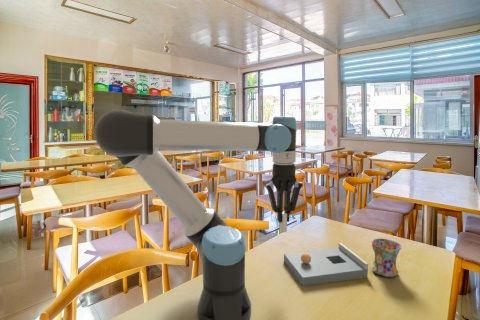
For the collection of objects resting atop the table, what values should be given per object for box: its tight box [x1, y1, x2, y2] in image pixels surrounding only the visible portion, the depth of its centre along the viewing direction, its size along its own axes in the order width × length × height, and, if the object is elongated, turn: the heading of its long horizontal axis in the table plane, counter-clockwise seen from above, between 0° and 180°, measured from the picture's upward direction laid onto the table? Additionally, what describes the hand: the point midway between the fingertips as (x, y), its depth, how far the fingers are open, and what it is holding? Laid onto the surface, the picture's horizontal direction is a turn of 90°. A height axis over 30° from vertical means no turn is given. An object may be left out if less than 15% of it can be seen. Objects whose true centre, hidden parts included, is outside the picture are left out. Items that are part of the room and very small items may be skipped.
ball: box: [301, 253, 311, 264], centre depth 104 cm, size 4×4×4 cm
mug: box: [370, 238, 402, 278], centre depth 104 cm, size 12×9×11 cm
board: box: [283, 242, 369, 287], centre depth 105 cm, size 24×17×5 cm
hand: (283, 230), depth 100 cm, fingers closed
